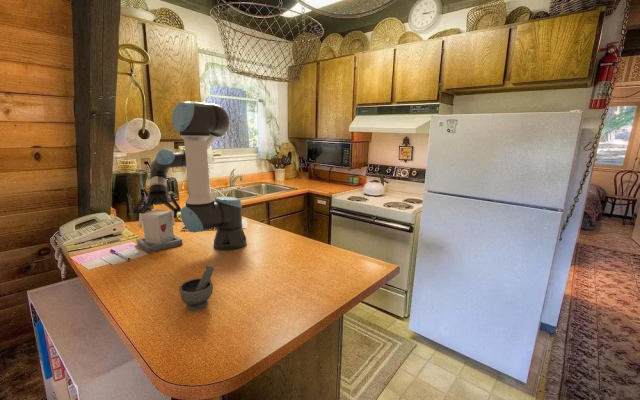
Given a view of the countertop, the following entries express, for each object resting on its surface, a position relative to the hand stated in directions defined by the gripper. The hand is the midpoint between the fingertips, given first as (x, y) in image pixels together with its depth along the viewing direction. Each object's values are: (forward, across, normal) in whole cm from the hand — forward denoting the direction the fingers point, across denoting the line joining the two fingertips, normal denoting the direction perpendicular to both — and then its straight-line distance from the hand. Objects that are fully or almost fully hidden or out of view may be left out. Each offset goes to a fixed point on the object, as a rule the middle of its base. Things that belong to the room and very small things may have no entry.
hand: (157, 225), depth 139 cm
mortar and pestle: (+48, -18, +34) cm, 61 cm away
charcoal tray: (+5, 0, -9) cm, 10 cm away
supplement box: (+5, 0, -8) cm, 10 cm away
